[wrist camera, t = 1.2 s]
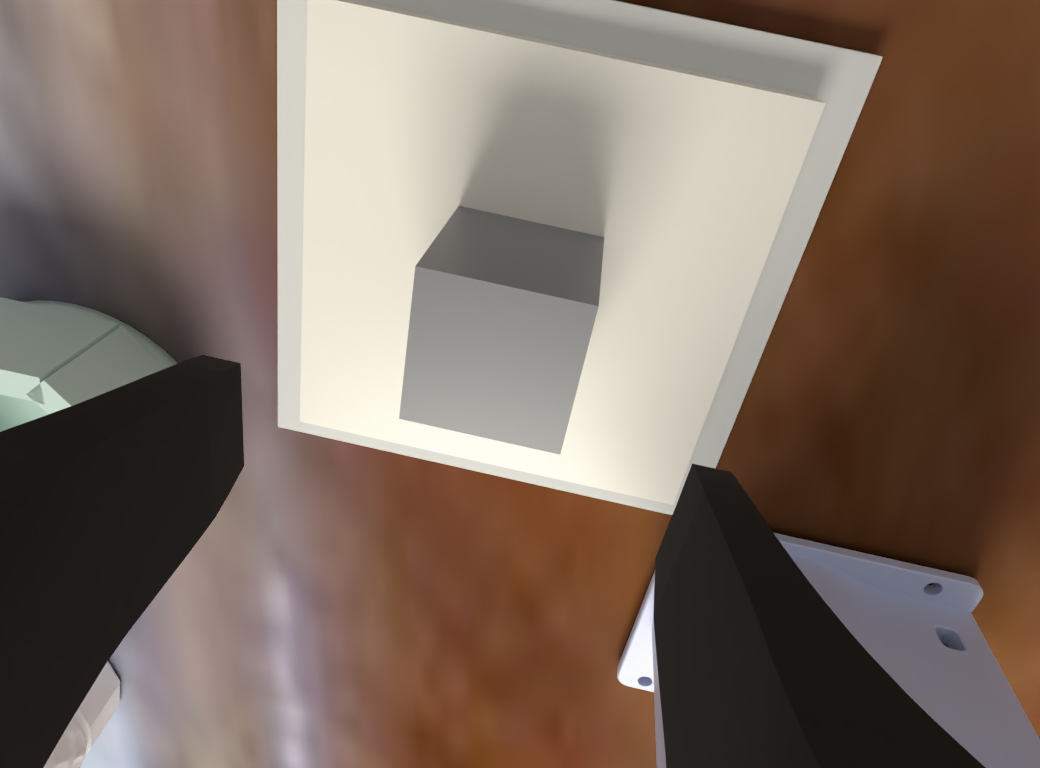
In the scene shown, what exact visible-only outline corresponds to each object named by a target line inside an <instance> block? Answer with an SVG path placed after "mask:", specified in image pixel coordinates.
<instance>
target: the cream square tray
mask: <svg viewBox="0 0 1040 768" xmlns="http://www.w3.org/2000/svg"><path fill="white" fill-rule="evenodd" d="M356 1H361V2H366V3H371V4H375V5H380V6H385V7H390V8H394V9H399V10H404V11H409V12H413V13H418V14H423V15H428V16H432V17H437V18H442V19H447V20H451V21H456V22H461V23H466V24H470V25H475V26H480V27H485V28H489V29H494V30H499V31H504V32H508V33H513V34H518V35H523V36H527V37H532V38H537V39H542V40H546V41H551V42H556V43H561V44H565V45H570V46H575V47H580V48H584V49H589V50H594V51H599V52H603V53H608V54H613V55H618V56H622V57H627V58H632V59H637V60H641V61H646V62H651V63H656V64H660V65H665V66H670V67H675V68H679V69H684V70H689V71H694V72H698V73H703V74H708V75H713V76H717V77H722V78H727V79H732V80H736V81H741V82H746V83H751V84H755V85H760V86H765V87H770V88H774V89H779V90H784V91H789V92H793V93H798V94H803V95H808V96H812V97H817V98H818V99H820V100H821V101H823V102H825V103H826V104H825V107H824V109H823V112H822V114H821V117H820V120H819V122H818V125H817V128H816V130H815V133H814V136H813V138H812V141H811V143H810V146H809V149H808V151H807V154H806V157H805V159H804V162H803V164H802V167H801V170H800V172H799V175H798V178H797V180H796V183H795V186H794V188H793V191H792V193H791V196H790V199H789V201H788V204H787V207H786V209H785V212H784V214H783V217H782V220H781V222H780V225H779V228H778V230H777V233H776V235H775V238H774V241H773V243H772V246H771V249H770V251H769V254H768V257H767V259H766V262H765V264H764V267H763V270H762V272H761V275H760V278H759V280H758V283H757V285H756V288H755V291H754V293H753V296H752V299H751V301H750V304H749V307H748V309H747V312H746V314H745V317H744V320H743V322H742V325H741V328H740V330H739V333H738V335H737V338H736V341H735V343H734V346H733V349H732V351H731V354H730V357H729V359H728V362H727V364H726V367H725V370H724V372H723V375H722V378H721V380H720V383H719V385H718V388H717V391H716V393H715V396H714V399H713V401H712V404H711V407H710V409H709V412H708V414H707V417H706V420H705V422H704V425H703V428H702V430H701V433H700V435H699V438H698V441H697V443H696V446H695V449H694V451H693V454H692V456H691V459H690V462H689V464H688V467H687V470H686V472H685V475H684V478H683V480H682V483H681V485H680V488H679V491H678V493H677V496H676V499H675V501H674V504H673V505H670V504H666V503H661V502H657V501H652V500H648V499H644V498H639V497H635V496H630V495H626V494H621V493H617V492H612V491H608V490H603V489H599V488H594V487H590V486H586V485H581V484H577V483H572V482H568V481H563V480H559V479H554V478H550V477H545V476H541V475H536V474H532V473H527V472H523V471H519V470H514V469H510V468H505V467H501V466H496V465H492V464H487V463H483V462H478V461H474V460H469V459H465V458H461V457H456V456H452V455H447V454H443V453H438V452H434V451H429V450H425V449H420V448H416V447H411V446H407V445H402V444H398V443H394V442H389V441H385V440H380V439H376V438H371V437H367V436H362V435H358V434H353V433H349V432H344V431H340V430H336V429H331V428H327V427H322V426H318V425H313V424H309V423H304V422H300V380H301V324H302V269H303V213H304V157H305V102H306V46H307V0H277V126H278V427H281V428H286V429H290V430H295V431H299V432H304V433H308V434H313V435H317V436H322V437H326V438H330V439H335V440H339V441H344V442H348V443H353V444H357V445H362V446H366V447H371V448H375V449H379V450H384V451H388V452H393V453H397V454H402V455H406V456H411V457H415V458H420V459H424V460H429V461H433V462H437V463H442V464H446V465H451V466H455V467H460V468H464V469H469V470H473V471H478V472H482V473H486V474H491V475H495V476H500V477H504V478H509V479H513V480H518V481H522V482H527V483H531V484H535V485H540V486H544V487H549V488H553V489H558V490H562V491H567V492H571V493H576V494H580V495H585V496H589V497H593V498H598V499H602V500H607V501H611V502H616V503H620V504H625V505H629V506H634V507H638V508H642V509H647V510H651V511H656V512H660V513H665V514H669V515H673V512H674V510H675V507H676V505H677V502H678V499H679V497H680V494H681V492H682V489H683V486H684V484H685V481H686V479H687V476H688V473H689V471H690V468H691V465H692V464H697V465H701V466H706V467H710V468H715V469H716V466H717V464H718V461H719V459H720V456H721V454H722V451H723V449H724V446H725V444H726V442H727V439H728V437H729V434H730V432H731V429H732V427H733V424H734V422H735V419H736V417H737V415H738V412H739V410H740V407H741V405H742V402H743V400H744V397H745V395H746V392H747V390H748V387H749V385H750V383H751V380H752V378H753V375H754V373H755V370H756V368H757V365H758V363H759V360H760V358H761V356H762V353H763V351H764V348H765V346H766V343H767V341H768V338H769V336H770V333H771V331H772V328H773V326H774V324H775V321H776V319H777V316H778V314H779V311H780V309H781V306H782V304H783V301H784V299H785V297H786V294H787V292H788V289H789V287H790V284H791V282H792V279H793V277H794V274H795V272H796V269H797V267H798V265H799V262H800V260H801V257H802V255H803V252H804V250H805V247H806V245H807V242H808V240H809V238H810V235H811V233H812V230H813V228H814V225H815V223H816V220H817V218H818V215H819V213H820V210H821V208H822V206H823V203H824V201H825V198H826V196H827V193H828V191H829V188H830V186H831V183H832V181H833V179H834V176H835V174H836V171H837V169H838V166H839V164H840V161H841V159H842V156H843V154H844V151H845V149H846V147H847V144H848V142H849V139H850V137H851V134H852V132H853V129H854V127H855V124H856V122H857V120H858V117H859V115H860V112H861V110H862V107H863V105H864V102H865V100H866V97H867V95H868V92H869V90H870V88H871V85H872V83H873V80H874V78H875V75H876V73H877V70H878V68H879V65H880V63H881V61H882V58H883V57H881V56H878V55H875V54H870V53H866V52H861V51H856V50H851V49H846V48H842V47H837V46H832V45H827V44H822V43H818V42H813V41H808V40H803V39H798V38H794V37H789V36H784V35H779V34H775V33H770V32H765V31H760V30H755V29H751V28H746V27H741V26H736V25H731V24H727V23H722V22H717V21H712V20H707V19H703V18H698V17H693V16H688V15H684V14H679V13H674V12H669V11H664V10H660V9H655V8H650V7H645V6H640V5H636V4H631V3H626V2H621V1H617V0H356Z"/></svg>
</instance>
